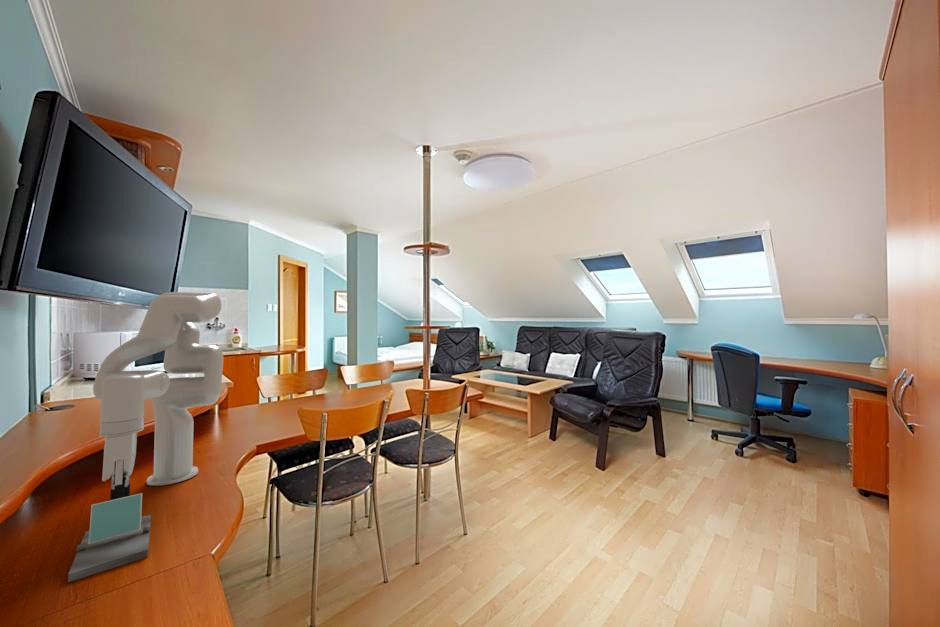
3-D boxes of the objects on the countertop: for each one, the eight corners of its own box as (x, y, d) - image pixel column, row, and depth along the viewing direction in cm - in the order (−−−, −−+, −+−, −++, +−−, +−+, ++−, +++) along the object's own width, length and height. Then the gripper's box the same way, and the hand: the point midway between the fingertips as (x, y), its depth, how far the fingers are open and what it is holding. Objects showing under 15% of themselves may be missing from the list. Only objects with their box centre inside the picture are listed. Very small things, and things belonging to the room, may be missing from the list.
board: (84, 538, 79) (84, 526, 79) (151, 520, 86) (151, 509, 87) (67, 582, 66) (67, 567, 66) (148, 556, 73) (148, 543, 73)
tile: (92, 504, 76) (91, 504, 75) (142, 493, 81) (142, 493, 81) (88, 543, 74) (88, 544, 73) (140, 529, 79) (140, 529, 78)
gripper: (104, 423, 87) (101, 498, 86) (94, 436, 76) (91, 523, 75) (145, 417, 92) (143, 488, 91) (142, 430, 81) (139, 511, 80)
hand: (119, 504), depth 83 cm, fingers closed
